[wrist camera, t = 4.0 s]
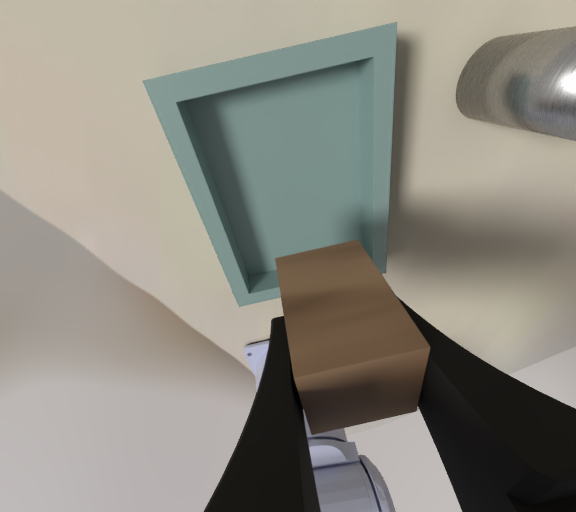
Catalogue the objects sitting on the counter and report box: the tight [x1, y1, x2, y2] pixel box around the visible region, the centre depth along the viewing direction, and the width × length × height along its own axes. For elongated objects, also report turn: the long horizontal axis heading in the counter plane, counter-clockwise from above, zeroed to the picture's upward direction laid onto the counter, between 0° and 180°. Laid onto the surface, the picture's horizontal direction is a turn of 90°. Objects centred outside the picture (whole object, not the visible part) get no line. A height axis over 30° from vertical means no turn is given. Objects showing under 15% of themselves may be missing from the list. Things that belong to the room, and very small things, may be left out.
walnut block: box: [275, 240, 430, 435], centre depth 11 cm, size 4×4×6 cm
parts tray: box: [143, 22, 397, 307], centre depth 16 cm, size 14×11×3 cm
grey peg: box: [456, 26, 576, 141], centre depth 12 cm, size 4×4×7 cm
